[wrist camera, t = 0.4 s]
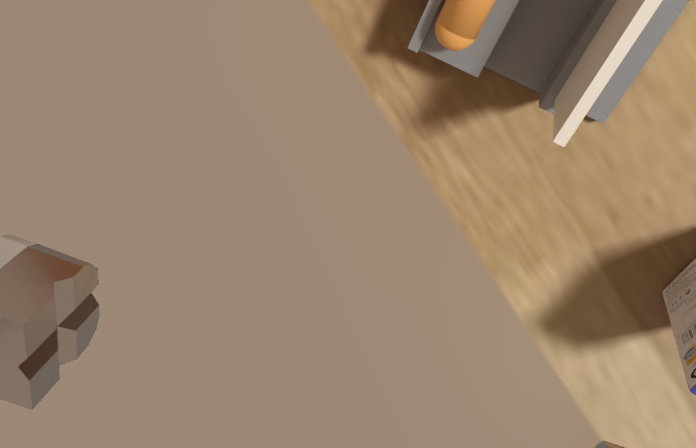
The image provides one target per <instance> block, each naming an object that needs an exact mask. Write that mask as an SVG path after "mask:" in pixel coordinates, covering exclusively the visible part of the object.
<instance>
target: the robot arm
mask: <svg viewBox="0 0 696 448" xmlns="http://www.w3.org/2000/svg"><path fill="white" fill-rule="evenodd" d="M98 285H99V280H98V268H97V267H95V266H94V265H92V264H90V263H87V262H85V261H82V260H79V259H77V258H74V257H71V256H69V255H66V254H63V253H61V252H58V251H55V250H53V249H50V248H47V247H44V246H42V245H39V244H35V243H32V242H30V241H27V240H24V239H22V238H19V237H16V236H14V235H11V234H8V235H3V236H0V399H2V400H5V401H8V402H11V403H14V404H16V405H19V406H22V407H25V408H28V409H31V410H33V408H35V406H36V405H37V404H38V403H39V402H40V401H41V399H42V398H43V397H44V396H45V395H46V394H47V393H48V392H49V390H50V389H51V388H52V387H53V386H54V385H55V384H56V383H57V381H58V380H59V379H60V375H59V373H60V372H59V366H60V365H63V364H65V363H68V362H70V361H73V360H76V359H77V358H78V357H79V356H80V355H81V354H82V352H83V351H84V350H85V349H86V348H87V346H88V345H89V342H90V341H91V339H92V337H93V335H94V333H95V331H96V328H97V324H98V319H99V304H98V302H97V301H96V299H95V298H94V296H93V295H92V293H91V292H92V291H93V290H94V289H95V288H96V287H97V286H98ZM595 448H624V447H621V446H618V445H616V444H613V443H610V442H607V441H602V442H601V443H599V444H597V445H596V447H595Z"/></svg>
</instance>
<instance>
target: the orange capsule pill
mask: <svg viewBox="0 0 696 448" xmlns="http://www.w3.org/2000/svg"><path fill="white" fill-rule="evenodd" d="M495 1H496V0H446V2H445V4H444V6H443V8H442V10H441V13H440V15H439V17H438V19H437V22H436V27H435V33H436V37H437V39H438V41H439V42H440V44H441V45H442V46H443V47H445V48H447V49H449V50H452V51H459V50H463V49H466V48H468V47H469V46H470V45H471V44H472V43H473V42H474V41H475V39H476V38H477V36H478V34H479V32H480V30H481V28H482V26H483V24H484V22H485V20H486V18H487V16H488V15H489V13H490V11H491V9H492V7H493V5H494V3H495Z"/></svg>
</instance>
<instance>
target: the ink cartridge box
mask: <svg viewBox="0 0 696 448" xmlns="http://www.w3.org/2000/svg"><path fill="white" fill-rule="evenodd" d="M662 294H663V298H664V301H665V305H666V308H667V312H668V315H669V319H670V323H671V326H672V330H673V333H674V337H675V340H676V343H677V347H678V351H679V355H680V358H681V362H682V365H683V369H684V373H685V376H686V380H687V384H688V388H689V390H690V391H691V392H692V393H693V394H695V395H696V258H695V259H694V260H693V261H692V262H691V263H690V264H689V265H688V266H687V267H686V268H685V269H684V270H683V271H682V272H681V273H680V274H679V275H678V276H677V277H676V278H675V279H674V280H673V281H672V282H671V283H670V284H669V285H668V286H667V287H666V288H665V289H664V290H663V291H662Z"/></svg>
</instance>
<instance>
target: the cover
mask: <svg viewBox="0 0 696 448" xmlns="http://www.w3.org/2000/svg"><path fill="white" fill-rule="evenodd" d="M662 1H663V0H617V1H616V3H615V5H614V6H613V8H612V9H611V11H610V12H609V14H608V16H607V17H606V19H605V20H604V22H603V24H602V25H601V27H600V28H599V30H598V32H597V33H596V35H595V36H594V38H593V40H592V41H591V43H590V44H589V46H588V48H587V49H586V51H585V52H584V54H583V56H582V57H581V59H580V60H579V62H578V63H577V65H576V67H575V68H574V70H573V71H572V73H571V75H570V76H569V78H568V79H567V81H566V83H565V84H564V86H563V87H562V89H561V91H560V92H559V94H558V95H557V97H556V99H555V106H554V126H553V142H555V143H557V144H559V145H561V146H563V147H565V145H566V144H567V142H568V141H569V139H570V138H571V136H572V135H573V133H574V132H575V130H576V129H577V127H578V126H579V124H580V123H581V121H582V120H583V118H584V117H585V115H586V114H587V113H588V111H589V110H590V108H591V107H592V105H593V104H594V102H595V101H596V99H597V98H598V96H599V95H600V93H601V92H602V90H603V89H604V87H605V86H606V84H607V83H608V81H609V80H610V78H611V77H612V75H613V74H614V72H615V71H616V69H617V68H618V66H619V65H620V63H621V62H622V60H623V59H624V57H625V56H626V54H627V53H628V51H629V50H630V48H631V47H632V45H633V44H634V42H635V41H636V39H637V38H638V36H639V35H640V33H641V32H642V30H643V29H644V27H645V26H646V24H647V23H648V21H649V20H650V18H651V17H652V16H653V14H654V13H655V11H656V10H657V8H658V7H659V5H660V4H661V2H662Z"/></svg>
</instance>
